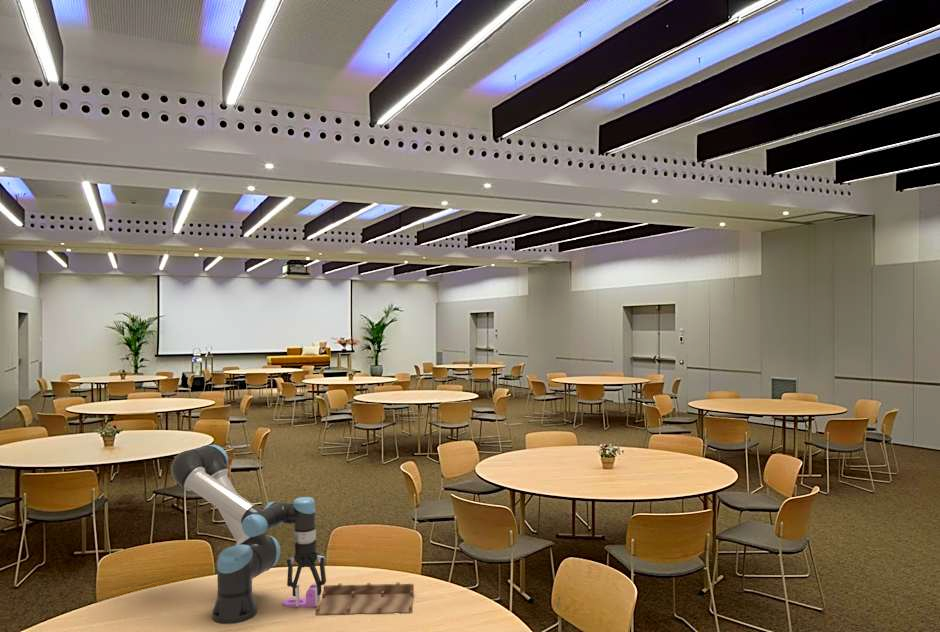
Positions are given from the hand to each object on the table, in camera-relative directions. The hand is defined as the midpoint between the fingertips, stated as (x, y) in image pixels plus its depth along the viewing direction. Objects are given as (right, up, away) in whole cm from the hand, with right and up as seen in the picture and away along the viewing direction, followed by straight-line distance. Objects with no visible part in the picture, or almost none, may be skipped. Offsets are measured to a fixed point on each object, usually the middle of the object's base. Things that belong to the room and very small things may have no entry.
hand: (307, 604), depth 240 cm
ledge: (+21, -2, +2) cm, 21 cm away
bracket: (-3, -2, +4) cm, 5 cm away
